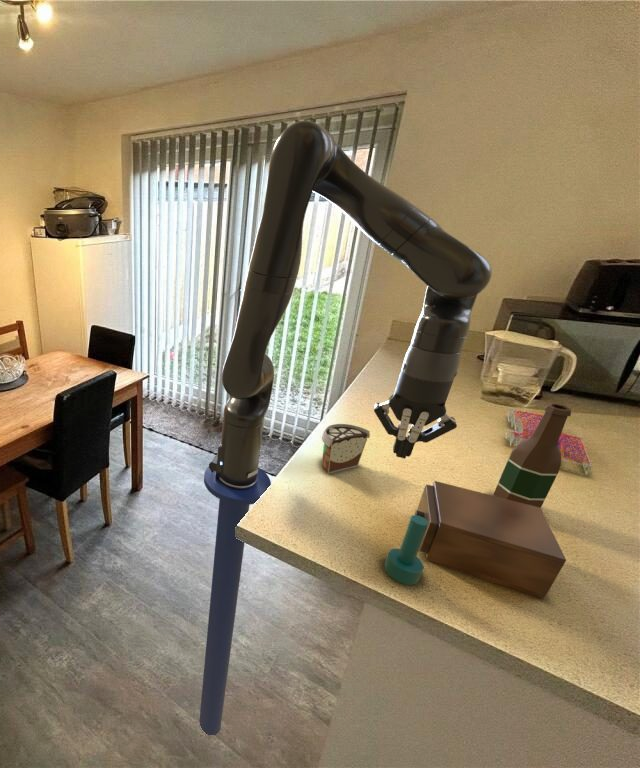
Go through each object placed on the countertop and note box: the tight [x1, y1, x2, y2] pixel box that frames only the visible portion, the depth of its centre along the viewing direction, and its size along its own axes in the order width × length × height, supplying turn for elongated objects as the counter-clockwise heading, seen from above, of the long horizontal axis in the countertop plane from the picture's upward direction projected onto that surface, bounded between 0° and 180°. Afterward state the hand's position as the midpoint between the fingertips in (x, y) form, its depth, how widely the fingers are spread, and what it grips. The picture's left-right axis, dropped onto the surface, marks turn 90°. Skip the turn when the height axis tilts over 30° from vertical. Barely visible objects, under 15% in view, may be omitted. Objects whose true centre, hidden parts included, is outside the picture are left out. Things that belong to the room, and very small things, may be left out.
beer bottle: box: [492, 403, 572, 509], centre depth 80 cm, size 8×8×24 cm
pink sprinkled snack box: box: [505, 408, 593, 477], centre depth 106 cm, size 30×15×5 cm, turn 139°
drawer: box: [414, 484, 439, 554], centre depth 73 cm, size 16×13×7 cm
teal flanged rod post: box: [383, 514, 428, 586], centre depth 67 cm, size 5×5×12 cm
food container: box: [321, 423, 371, 474], centre depth 98 cm, size 12×6×10 cm, turn 108°
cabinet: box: [425, 480, 567, 600], centre depth 72 cm, size 16×14×9 cm
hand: (400, 455), depth 75 cm, fingers closed
